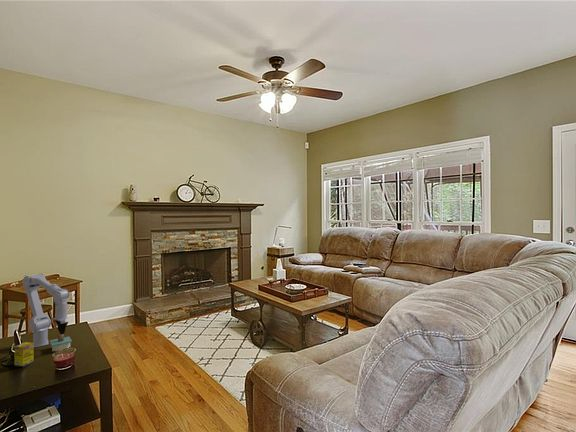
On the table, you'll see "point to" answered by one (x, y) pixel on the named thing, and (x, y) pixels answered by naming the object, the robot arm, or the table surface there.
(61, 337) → the lid
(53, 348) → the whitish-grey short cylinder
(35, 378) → the table surface
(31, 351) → the supplement box
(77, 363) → the table surface
